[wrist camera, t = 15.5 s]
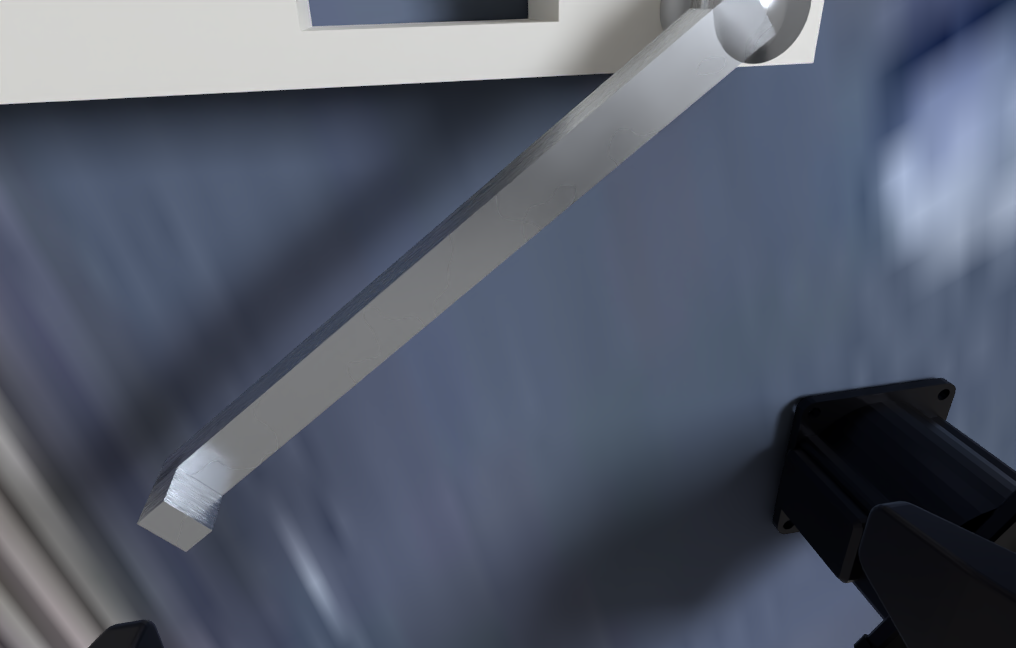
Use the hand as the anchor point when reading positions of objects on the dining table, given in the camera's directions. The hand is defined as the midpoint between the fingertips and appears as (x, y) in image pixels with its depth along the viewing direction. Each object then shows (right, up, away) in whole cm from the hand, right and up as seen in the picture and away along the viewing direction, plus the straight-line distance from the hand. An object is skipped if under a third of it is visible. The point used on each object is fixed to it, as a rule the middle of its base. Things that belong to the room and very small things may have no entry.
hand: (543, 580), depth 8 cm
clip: (-2, +5, +6) cm, 8 cm away
